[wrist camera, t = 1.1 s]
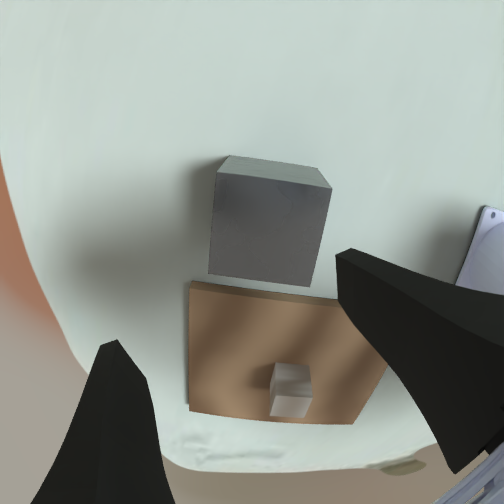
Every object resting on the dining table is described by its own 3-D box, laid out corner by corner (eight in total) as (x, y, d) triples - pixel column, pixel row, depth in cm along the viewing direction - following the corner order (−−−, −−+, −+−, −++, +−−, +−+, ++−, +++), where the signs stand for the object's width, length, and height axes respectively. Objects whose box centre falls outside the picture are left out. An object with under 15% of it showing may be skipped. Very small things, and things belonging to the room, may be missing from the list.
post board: (408, 306, 23) (429, 343, 19) (351, 417, 30) (357, 451, 26) (192, 280, 23) (177, 318, 19) (191, 403, 29) (182, 438, 25)
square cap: (317, 168, 19) (332, 188, 14) (301, 247, 21) (309, 287, 17) (229, 155, 19) (216, 172, 14) (221, 236, 21) (208, 273, 17)
